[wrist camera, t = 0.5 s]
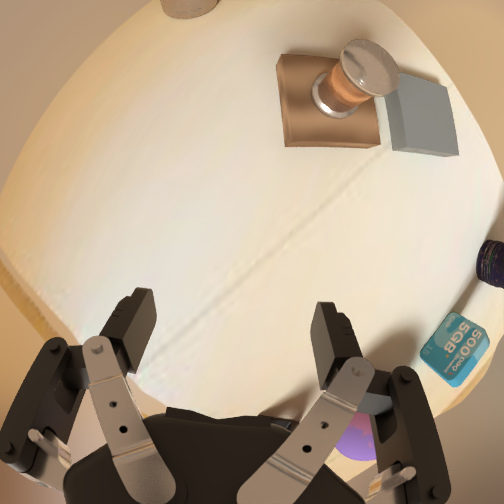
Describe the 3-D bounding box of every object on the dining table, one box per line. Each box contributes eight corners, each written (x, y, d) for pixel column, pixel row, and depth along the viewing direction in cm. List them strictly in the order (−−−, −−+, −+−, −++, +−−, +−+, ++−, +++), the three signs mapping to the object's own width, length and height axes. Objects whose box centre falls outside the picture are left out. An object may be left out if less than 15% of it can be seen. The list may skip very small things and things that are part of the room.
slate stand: (380, 78, 34) (392, 70, 30) (433, 92, 35) (446, 87, 31) (392, 150, 37) (407, 147, 33) (444, 156, 38) (458, 155, 34)
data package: (451, 309, 45) (488, 331, 33) (457, 319, 45) (492, 341, 34) (416, 354, 46) (450, 384, 34) (424, 362, 46) (456, 390, 35)
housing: (307, 74, 30) (338, 34, 19) (351, 78, 30) (392, 46, 20) (313, 117, 31) (350, 88, 20) (358, 120, 32) (405, 98, 21)
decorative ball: (393, 364, 45) (435, 407, 30) (377, 415, 48) (406, 459, 33) (325, 379, 44) (357, 436, 29) (315, 431, 46) (337, 483, 32)
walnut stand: (275, 66, 33) (281, 54, 29) (355, 73, 34) (366, 64, 30) (285, 147, 35) (292, 141, 31) (367, 148, 36) (380, 144, 32)
